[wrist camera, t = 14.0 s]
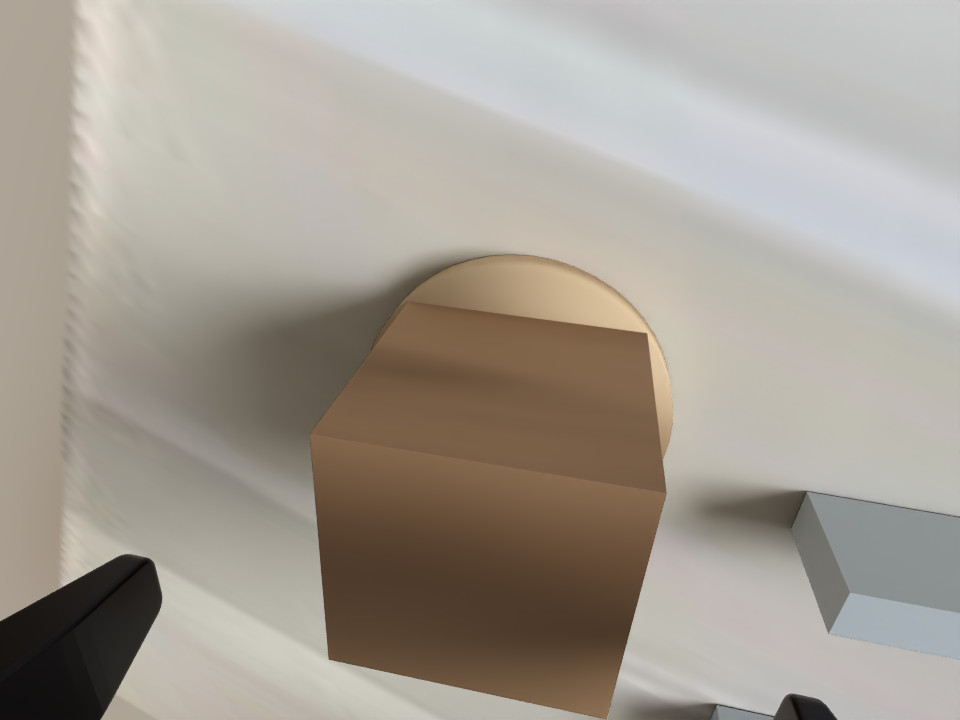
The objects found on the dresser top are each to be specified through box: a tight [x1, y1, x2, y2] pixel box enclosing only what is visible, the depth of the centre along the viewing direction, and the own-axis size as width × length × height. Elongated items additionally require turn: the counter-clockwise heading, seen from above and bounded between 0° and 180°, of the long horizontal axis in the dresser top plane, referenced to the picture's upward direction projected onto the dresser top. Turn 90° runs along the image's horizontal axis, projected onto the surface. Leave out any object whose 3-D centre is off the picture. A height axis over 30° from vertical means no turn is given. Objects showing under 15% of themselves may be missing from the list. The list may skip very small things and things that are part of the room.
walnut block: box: [310, 301, 666, 719], centre depth 12 cm, size 5×5×5 cm
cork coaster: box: [371, 255, 673, 459], centre depth 14 cm, size 7×7×1 cm
